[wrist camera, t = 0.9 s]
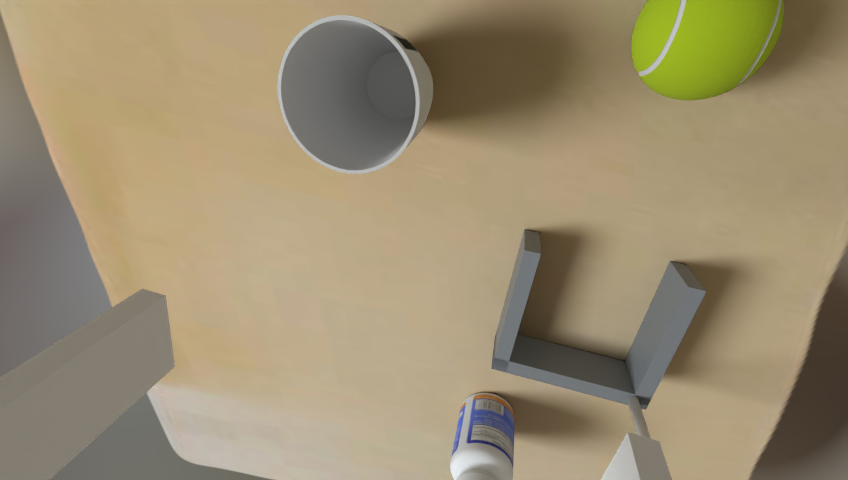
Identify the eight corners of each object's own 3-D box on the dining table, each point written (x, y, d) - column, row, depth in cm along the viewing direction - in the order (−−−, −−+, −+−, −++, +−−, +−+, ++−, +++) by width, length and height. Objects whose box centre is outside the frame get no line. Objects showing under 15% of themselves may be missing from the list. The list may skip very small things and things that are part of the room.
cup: (461, 39, 29) (433, 33, 20) (438, 152, 33) (405, 188, 24) (353, 16, 30) (280, 0, 21) (341, 128, 34) (275, 155, 25)
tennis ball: (767, -20, 25) (849, -45, 18) (714, 103, 28) (769, 117, 21) (643, -36, 25) (681, -65, 19) (605, 84, 28) (627, 93, 22)
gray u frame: (524, 229, 34) (522, 388, 18) (686, 264, 32) (847, 476, 16) (494, 339, 39) (471, 542, 22) (634, 375, 37) (717, 623, 21)
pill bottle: (485, 438, 44) (475, 533, 35) (450, 405, 43) (430, 493, 34) (526, 417, 41) (526, 514, 33) (490, 381, 41) (480, 470, 32)
